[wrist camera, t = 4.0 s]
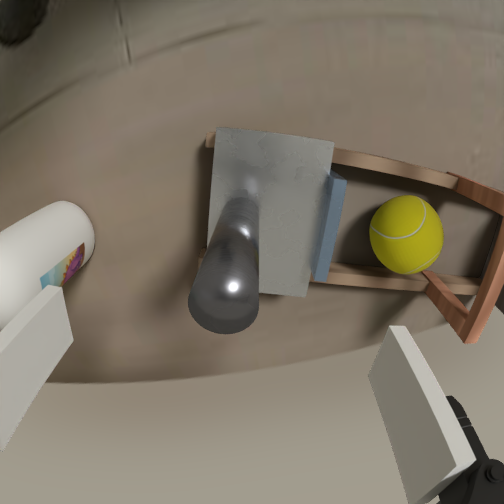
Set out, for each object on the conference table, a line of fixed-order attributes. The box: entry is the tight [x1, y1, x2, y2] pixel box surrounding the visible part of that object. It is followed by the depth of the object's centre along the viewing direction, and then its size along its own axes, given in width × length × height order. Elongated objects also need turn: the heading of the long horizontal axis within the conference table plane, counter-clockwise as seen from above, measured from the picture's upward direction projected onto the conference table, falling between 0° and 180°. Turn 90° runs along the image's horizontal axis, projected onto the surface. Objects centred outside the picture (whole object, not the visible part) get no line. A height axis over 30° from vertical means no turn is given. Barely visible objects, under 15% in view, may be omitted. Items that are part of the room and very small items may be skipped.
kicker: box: [188, 127, 347, 334], centre depth 21 cm, size 10×14×17 cm
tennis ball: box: [369, 195, 444, 274], centre depth 26 cm, size 7×7×7 cm
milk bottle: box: [0, 201, 95, 330], centre depth 22 cm, size 8×8×20 cm
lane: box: [198, 132, 504, 344], centre depth 24 cm, size 34×13×11 cm, turn 84°
